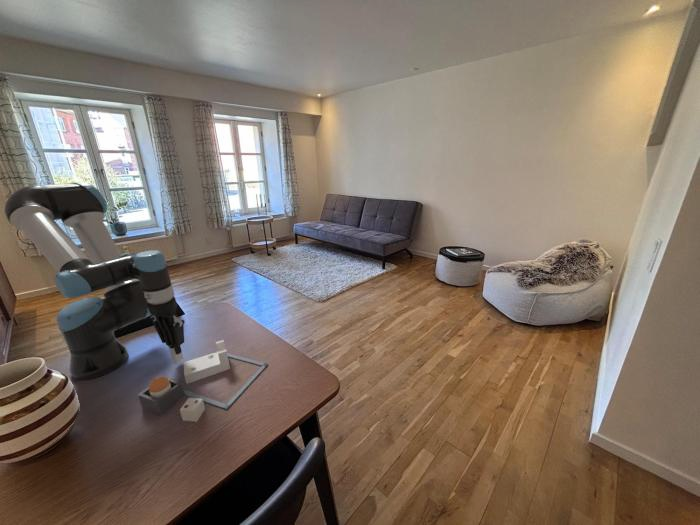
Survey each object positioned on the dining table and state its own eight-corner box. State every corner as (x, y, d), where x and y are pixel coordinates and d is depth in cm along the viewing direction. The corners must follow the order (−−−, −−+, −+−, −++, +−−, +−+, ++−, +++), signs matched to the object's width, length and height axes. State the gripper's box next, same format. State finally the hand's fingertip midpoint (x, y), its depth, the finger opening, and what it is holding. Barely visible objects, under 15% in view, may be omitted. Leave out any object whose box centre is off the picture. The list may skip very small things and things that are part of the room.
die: (182, 420, 76) (179, 409, 74) (191, 408, 80) (188, 397, 78) (196, 421, 76) (193, 410, 74) (205, 409, 79) (202, 398, 78)
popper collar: (142, 408, 80) (137, 394, 78) (167, 389, 86) (163, 376, 85) (161, 416, 77) (157, 402, 76) (185, 395, 84) (181, 382, 82)
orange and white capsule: (149, 403, 80) (142, 382, 77) (165, 390, 84) (159, 370, 82) (161, 408, 78) (155, 387, 76) (177, 394, 83) (171, 374, 80)
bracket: (227, 357, 100) (223, 339, 98) (230, 369, 95) (226, 351, 92) (186, 370, 94) (181, 352, 92) (186, 384, 88) (181, 365, 86)
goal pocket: (178, 393, 85) (178, 391, 85) (225, 353, 102) (225, 352, 102) (226, 409, 79) (226, 408, 79) (267, 364, 96) (267, 363, 96)
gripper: (134, 301, 87) (154, 363, 95) (164, 308, 83) (183, 372, 91) (157, 291, 94) (174, 350, 102) (186, 297, 89) (201, 357, 97)
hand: (178, 360), depth 96 cm, fingers closed
